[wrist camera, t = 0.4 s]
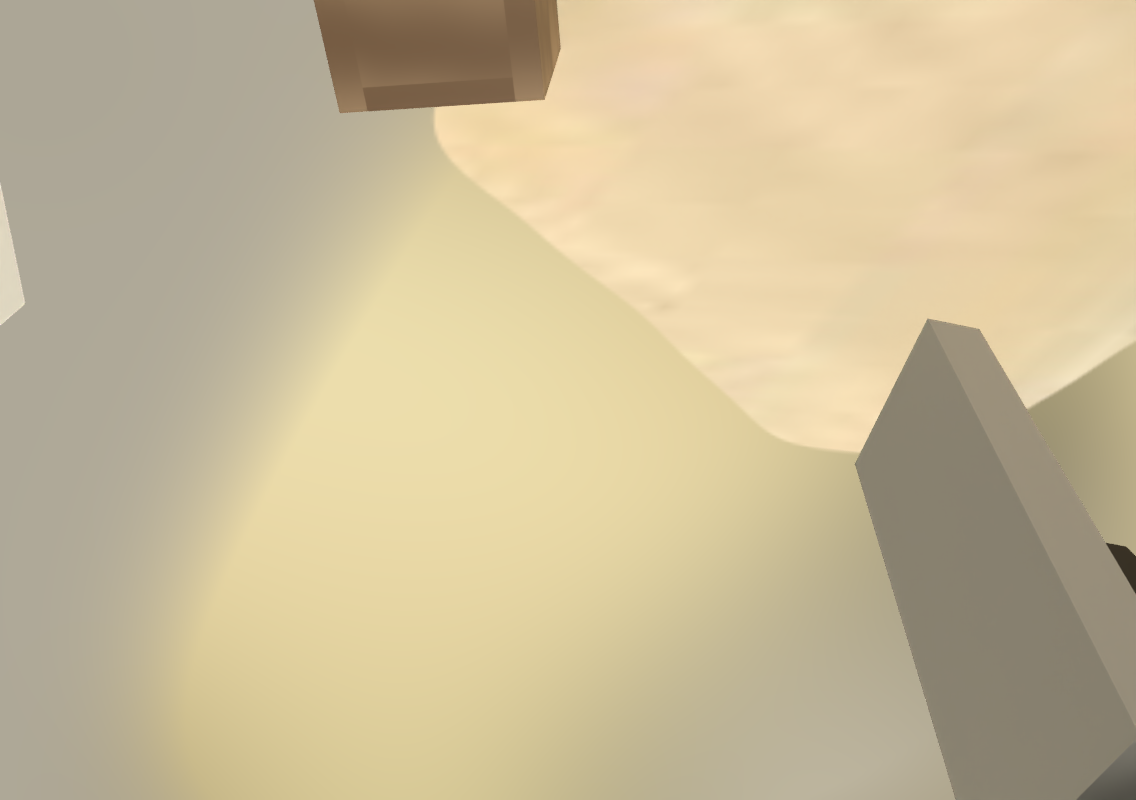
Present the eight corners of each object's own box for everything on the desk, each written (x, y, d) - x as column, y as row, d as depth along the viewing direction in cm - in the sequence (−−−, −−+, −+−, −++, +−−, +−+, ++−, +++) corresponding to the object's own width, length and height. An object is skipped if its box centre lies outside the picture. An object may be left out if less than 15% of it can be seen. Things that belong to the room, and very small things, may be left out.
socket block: (364, -61, 34) (307, -29, 28) (549, -77, 33) (530, -47, 27) (387, 61, 37) (339, 113, 31) (560, 48, 36) (544, 99, 30)
